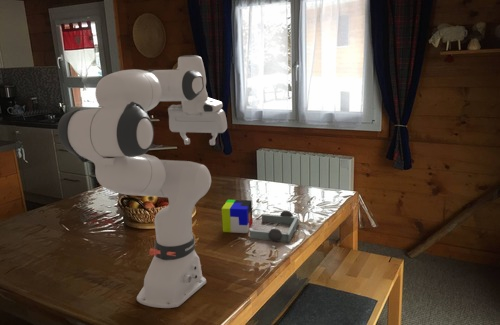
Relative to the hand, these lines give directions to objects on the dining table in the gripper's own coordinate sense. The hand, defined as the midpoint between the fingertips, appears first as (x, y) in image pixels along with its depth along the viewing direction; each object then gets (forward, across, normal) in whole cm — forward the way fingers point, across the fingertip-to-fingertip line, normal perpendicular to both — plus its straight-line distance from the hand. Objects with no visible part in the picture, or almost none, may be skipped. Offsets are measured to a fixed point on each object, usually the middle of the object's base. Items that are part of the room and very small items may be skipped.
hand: (199, 144), depth 146 cm
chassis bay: (+41, +20, +16) cm, 48 cm away
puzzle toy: (+41, +5, +16) cm, 44 cm away
